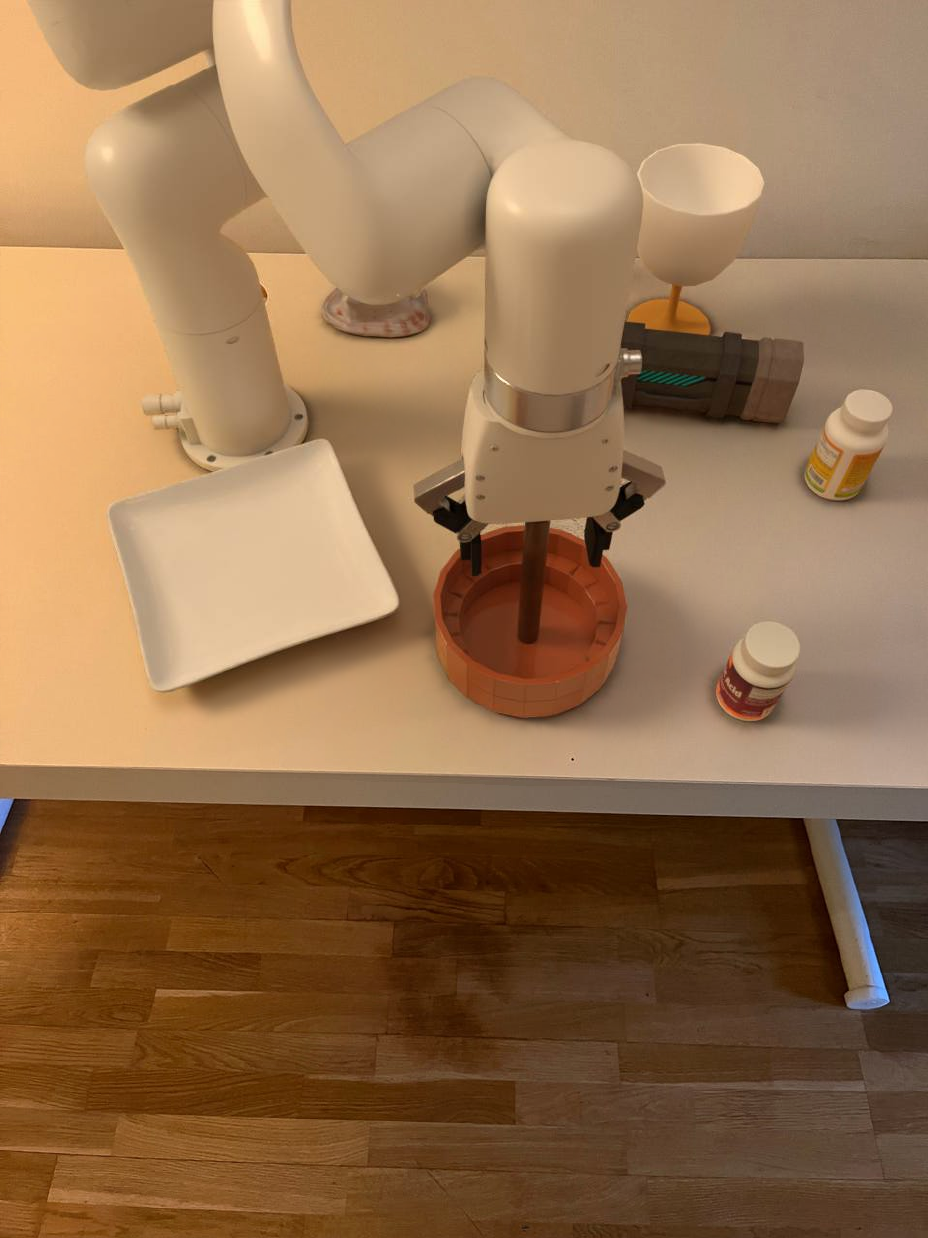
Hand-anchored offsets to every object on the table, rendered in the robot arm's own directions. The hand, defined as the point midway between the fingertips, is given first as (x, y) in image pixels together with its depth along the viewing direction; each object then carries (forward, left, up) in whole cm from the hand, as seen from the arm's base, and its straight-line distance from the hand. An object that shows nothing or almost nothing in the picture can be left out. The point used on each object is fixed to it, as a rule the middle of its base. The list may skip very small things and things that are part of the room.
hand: (533, 555), depth 67 cm
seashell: (-11, +44, -12) cm, 47 cm away
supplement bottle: (+31, +15, -12) cm, 36 cm away
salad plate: (-23, +9, -12) cm, 28 cm away
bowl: (0, 0, -12) cm, 12 cm away
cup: (+20, +38, -12) cm, 45 cm away
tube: (+14, +28, -12) cm, 33 cm away
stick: (0, 0, -11) cm, 11 cm away
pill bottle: (+17, -7, -12) cm, 22 cm away
